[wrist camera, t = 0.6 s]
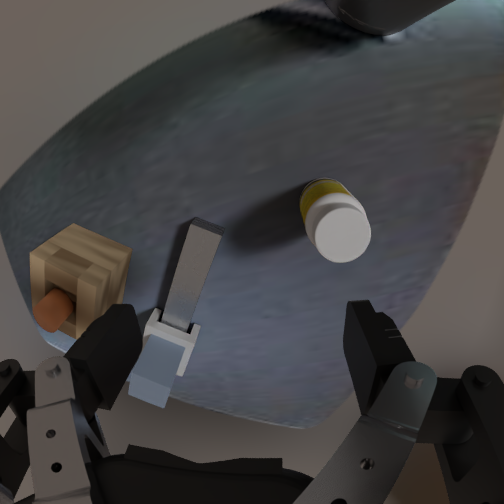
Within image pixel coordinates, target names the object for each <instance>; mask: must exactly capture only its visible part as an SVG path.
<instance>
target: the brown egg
mask: <svg viewBox="0 0 504 504" xmlns="http://www.w3.org/2000/svg"><path fill="white" fill-rule="evenodd" d="M72 311H73V304H72V301H71V299H70V298H69V296H68V295H67V294H66V293H65V292H64V291H62V290H60V289H57V288H54V289H52V290H51V291H50V292H49V293H48V294H47V295H46V296H45V297H44V298H43V299H42V300H41V301H40V302H39V303H38V304H37V305H36V306H35V307H34V308H33V315H34V317H35V319H36V321H37V323H38V324H39V325H40V326H41V327H42V328H43V329H44V330H46V331H48V332H51V333H53V332H56V331H57V329H58V328H59V327H60V326H61V325H62V323H63V322H64V321H65V320H66V319H67V318H68V316H69V315H70V314H71V313H72Z"/></svg>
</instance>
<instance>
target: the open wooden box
mask: <svg viewBox="0 0 504 504" xmlns="http://www.w3.org/2000/svg"><path fill="white" fill-rule="evenodd" d="M131 253H132V249H131V248H129V247H127V246H124V245H122V244H120V243H117V242H115V241H113V240H110V239H108V238H106V237H103V236H101V235H99V234H97V233H94V232H92V231H90V230H87V229H85V228H83V227H81V226H78V225H76V224H74V223H73V224H71V225H70V226H68V227H67V228H65V229H64V230H62V231H61V232H59V233H58V234H56V235H55V236H53V237H52V238H50V239H49V240H47V241H46V242H44V243H43V244H42V245H40V246H39V247H37V248H36V249H35V250H33V251H32V252H30V279H31V296H32V308H34V307H35V306H36V305H37V304H38V303H39V302H40V301H41V300H42V299H43V298H44V297H45V296H46V295H47V294H48V293H49V292H50V291H51V290H52V289H54V288H57V289H60V290H62V291H64V292H65V293H66V294H67V295H68V296H69V298H70V299H71V301H72V304H73V311H72V313H71V314H70V315H69V316H68V318H67V319H66V320H65V321H64V322H63V323H62V325H61V326H60V327H59V328H58V330H60V331H62V332H64V333H65V334H67V335H69V336H71V337H73V338H75V339H78V338H79V337H81V334H82V333H83V332H84V331H86V329H87V327H88V326H89V325H90V324H91V323H92V322H93V321H94V320H96V319H97V318H99V317H100V316H102V315H104V313H105V312H106V311H107V310H108V309H109V307H110V306H111V305H112V304H122V301H123V295H124V290H125V284H126V279H127V273H128V268H129V263H130V258H131Z"/></svg>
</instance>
